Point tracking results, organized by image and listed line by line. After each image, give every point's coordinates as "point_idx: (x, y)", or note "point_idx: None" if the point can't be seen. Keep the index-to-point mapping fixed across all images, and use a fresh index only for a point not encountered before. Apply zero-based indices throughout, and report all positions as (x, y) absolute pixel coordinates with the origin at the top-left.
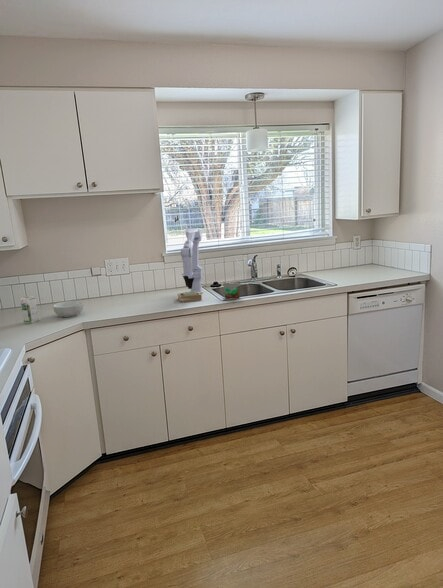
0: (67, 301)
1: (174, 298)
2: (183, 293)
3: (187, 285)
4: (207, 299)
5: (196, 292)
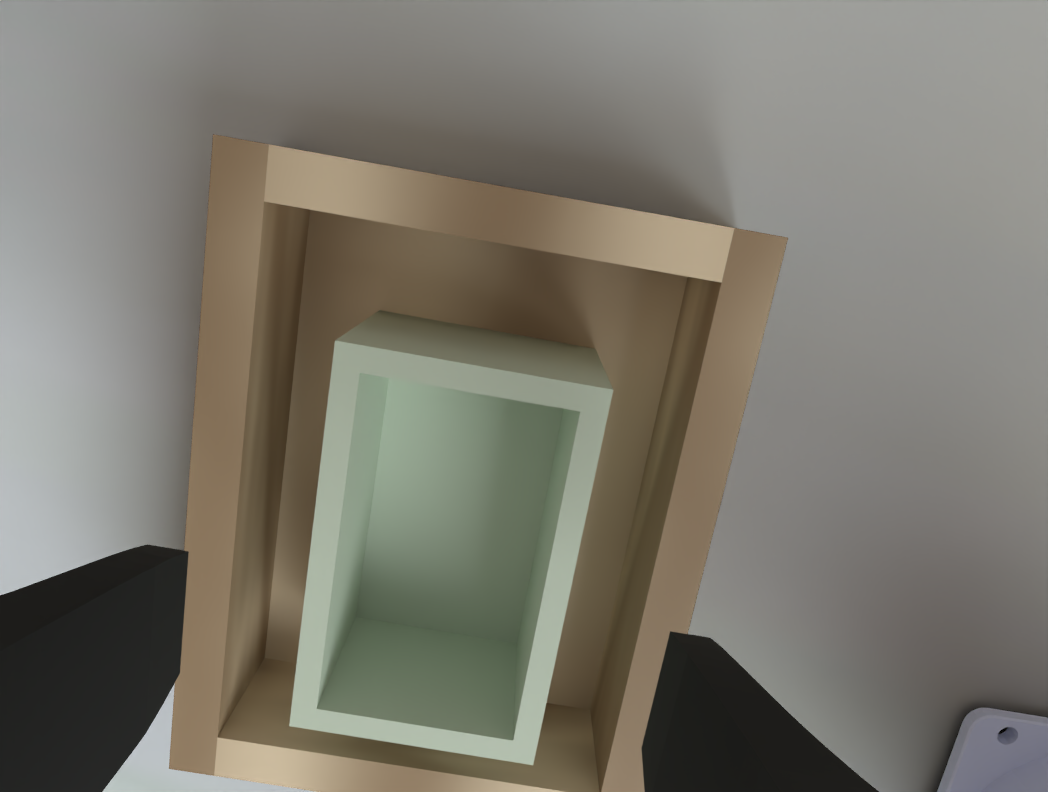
0: None
1: (854, 146)
2: (565, 374)
3: (665, 700)
4: (208, 786)
5: (310, 725)
